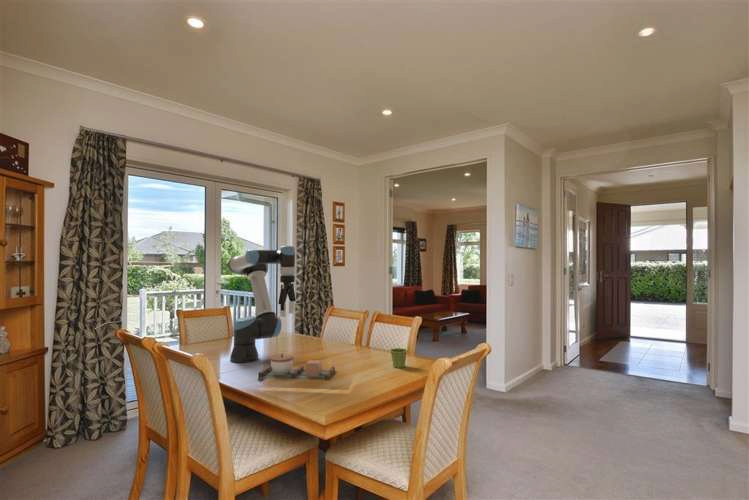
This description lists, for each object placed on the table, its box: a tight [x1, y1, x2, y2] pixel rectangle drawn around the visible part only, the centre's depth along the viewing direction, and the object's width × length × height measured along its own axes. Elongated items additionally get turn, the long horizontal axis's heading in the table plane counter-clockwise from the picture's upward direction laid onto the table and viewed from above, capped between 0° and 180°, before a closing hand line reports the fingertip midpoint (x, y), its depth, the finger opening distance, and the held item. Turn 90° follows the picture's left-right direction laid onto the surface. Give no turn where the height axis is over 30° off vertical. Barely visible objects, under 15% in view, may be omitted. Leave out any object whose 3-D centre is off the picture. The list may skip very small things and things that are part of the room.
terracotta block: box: [305, 359, 322, 376], centre depth 196 cm, size 6×6×6 cm
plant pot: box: [389, 347, 409, 369], centre depth 216 cm, size 9×9×9 cm
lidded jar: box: [269, 353, 294, 375], centre depth 198 cm, size 11×11×9 cm
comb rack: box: [257, 364, 336, 381], centre depth 197 cm, size 15×33×4 cm, turn 83°
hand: (287, 315), depth 219 cm, fingers open, 13 cm apart
